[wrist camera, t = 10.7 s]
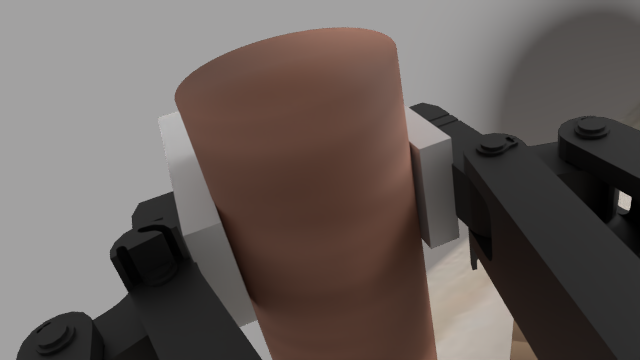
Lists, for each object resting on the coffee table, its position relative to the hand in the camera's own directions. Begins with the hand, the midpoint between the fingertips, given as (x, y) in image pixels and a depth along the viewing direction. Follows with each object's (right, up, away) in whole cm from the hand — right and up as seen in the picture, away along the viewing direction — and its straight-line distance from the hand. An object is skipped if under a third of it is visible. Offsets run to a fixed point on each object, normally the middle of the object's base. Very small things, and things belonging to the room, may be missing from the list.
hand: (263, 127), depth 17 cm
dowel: (+4, -11, +1) cm, 12 cm away
